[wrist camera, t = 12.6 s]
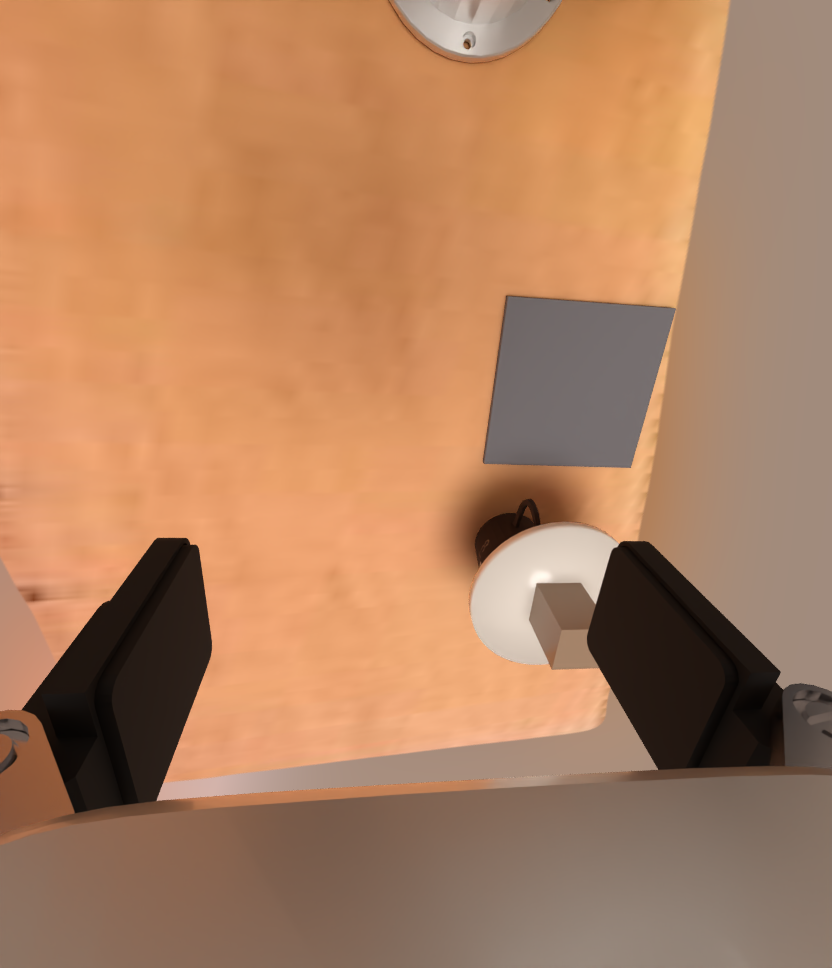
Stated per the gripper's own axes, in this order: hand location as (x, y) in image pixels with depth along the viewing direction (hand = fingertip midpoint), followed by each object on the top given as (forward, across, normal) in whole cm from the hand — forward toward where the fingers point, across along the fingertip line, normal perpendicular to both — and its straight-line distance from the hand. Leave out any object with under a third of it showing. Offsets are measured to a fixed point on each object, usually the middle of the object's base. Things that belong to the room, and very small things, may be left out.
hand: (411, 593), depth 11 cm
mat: (+30, -17, +2) cm, 35 cm away
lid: (+20, -14, +16) cm, 29 cm away
